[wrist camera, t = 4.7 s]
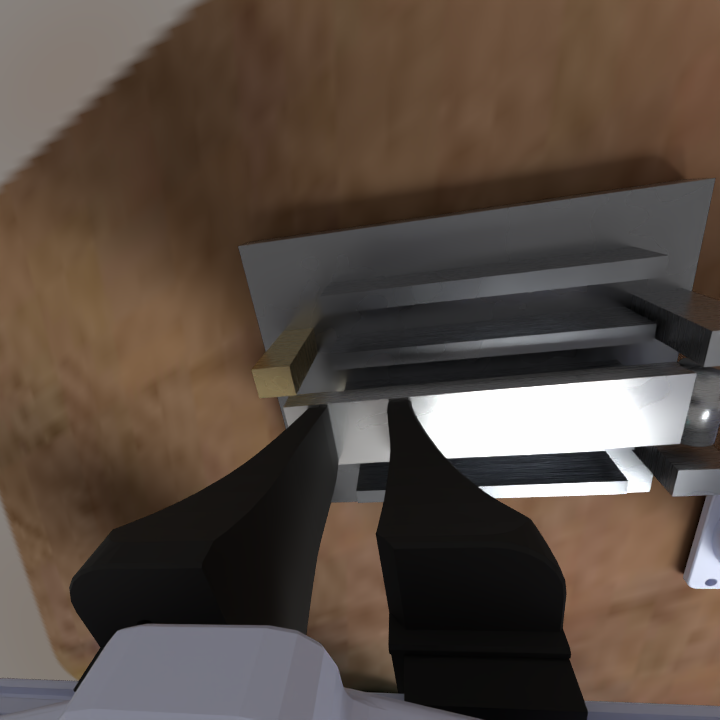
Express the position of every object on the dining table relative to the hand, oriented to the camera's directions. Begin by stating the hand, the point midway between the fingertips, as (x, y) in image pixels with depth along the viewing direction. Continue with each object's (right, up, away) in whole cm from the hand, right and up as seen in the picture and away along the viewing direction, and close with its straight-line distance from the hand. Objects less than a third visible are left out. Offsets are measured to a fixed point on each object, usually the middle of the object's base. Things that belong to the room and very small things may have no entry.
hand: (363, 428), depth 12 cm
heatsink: (+4, +2, +3) cm, 6 cm away
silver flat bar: (+4, +1, 0) cm, 4 cm away
